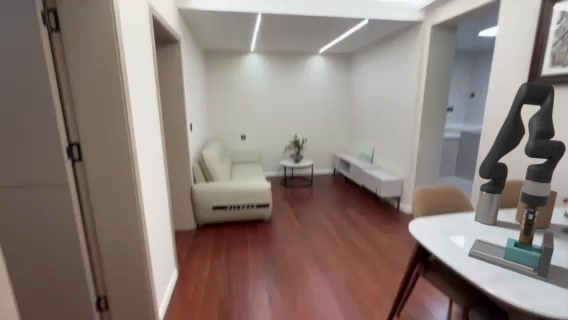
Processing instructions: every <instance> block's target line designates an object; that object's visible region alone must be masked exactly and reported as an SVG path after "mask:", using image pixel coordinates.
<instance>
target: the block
mask: <svg viewBox="0 0 568 320" xmlns="http://www.w3.org/2000/svg"><path fill="white" fill-rule="evenodd" d="M522 188H523V186H521V187H520V193H519V199H518V204H517V208H516V213H515V218H514V220H515V221H516V222H518V223H520V224H522V221H523V216H524V210H525V206H528V205H527V204H524V203H522V202H521V201H520V198H521V193H522ZM557 195H558V192H557V191H555V190H552V189H550V194H549V198H548V203H547V206H545V207H537V208H538V209H539V213H538V219H537V224H536V228H535V229H549V228H550V225H551V223H552V222H551V221H552V217H553V213H554V208H555V204H556V200H557Z"/></svg>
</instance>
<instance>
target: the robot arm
mask: <svg viewBox="0 0 568 320" xmlns="http://www.w3.org/2000/svg"><path fill="white" fill-rule="evenodd" d="M554 104H555V87H554V86H553V85H552V84H549V83H546V82H545V83H543V82H528V81H527V82H523V83H521V85H520V86H519V88H518V89H517V92H516V93H515V96H514V98H513V101H512V103H511V106H510V109H509V111H508V113H507V115H506V118H505V120H504V121H503V124H502V125H501V127H500V129H499V131H498V133H497V135H496V137H495V139H494V141H493V144H492V146H491V148H490V149H489V151H488V152H487V154H486V156H485V157H484V159H483V160H482V162H481V163H480V165H479V169H478V175H479V177H480V178H481V179H482V180H489V181H486V182H485V183H482V184H481V185H479V186H480V187H479V193H478V198H477V199H478V200H477V203H476V208H475V214H474V221H475V222H478V223H481V224H483V225H489V226H495V225H496V224H497V221H498V216H499V209H500V205H501V199H502V194H503V190H504V189H505V187H506V182H507V179H508V174H509V168H508V165H507V163H504V161H503V162H501V161H500V160H501V159H502V158H503V157H505V156H506V155H508V154H509V153H511V152H512V151H513V150H515V149H516V148H517V147H518V146H520V144H521V142H522V141H523V138H524V137H525V134H526V127H525V124H524V121H523V118H522V109H523V107H524V105H529V106H538V107H540V109H538V110H537V111H536V112H535V113H534V114H533V115H532V116H531V117H530V118H529V120H528V123H527V128H528V139H527V142H526V144H525V146H524V150H523V151H524V154H525V156H526V157H527V158H530V159H540V160H542V159H543V160H545V161H543V162H542V163H534V164H529V165H528V166H527V169H526V171H525V172H526V173H525V177H524V181H523V184H522V187H523V188H522V187H521V188H522V193H521V198H520V201H521V202H522V203H524V204H527V205H528V206H525V210H524V212H525V215H524V220H525V224H524V231H523V235H526V236H531V231H532V228H533V227H534V226H533V225H534V222H536V218H537V215H538V213H539V209H538V208H537V207H545V206H547V203H548V198H549V194H550V190H552V189H551V188H552V187H551V186H552V179H553V174H554V172H555V169H556V167H557V165H558V164H559V162H560V161H561V159H562V158H563V156H564V154H566V149H567V148H566V145H565V143H564V142H563V141H561V140H556V139H555V140H554V137H555V134H556V131H555V126H554V125H555V124H554V120H553V111H554V106H555V105H554ZM527 222H530V223H532V224H528V223H527Z"/></svg>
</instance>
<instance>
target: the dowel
mask: <svg viewBox="0 0 568 320" xmlns="http://www.w3.org/2000/svg"><path fill="white" fill-rule="evenodd" d="M524 215H525V212H524ZM537 219H538V215H537V218H536V222H534V225H533V226H534V227H533V228H532V231H531V236H526V235H523V231H524V224H525V220H524V216H523V221H522V223H521V227H520V231H519V236H518V240H519V241H518V243H519V244H521V245H523V246H527V247H531V246H532V244H534V237H535V234H536V233H535V231H536V229H537V228H536V224H537ZM527 223H528V224H532V223H530V222H527Z"/></svg>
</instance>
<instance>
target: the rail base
mask: <svg viewBox="0 0 568 320" xmlns="http://www.w3.org/2000/svg"><path fill="white" fill-rule="evenodd" d="M554 235H555V234H554V232H552V231H548V230H544V231H543V236H542V239H541V244H540V246H541V255H540V261H539V265H538V270H537V271H536V270H533V268H530V267H527V266H524V265H521V264H517V263H514V262H511V261H508V260H505V259H503V258H504V253H505V247H506V245H501V244H499V243H496V242H491V241H488V240H484V239H481V238H475V240H474V241H473V244H472V245H471V247H470V250H469V251H468V253H467V256H468V257H471V258H472V259H475V260H479V261H482V262H485V263H487V262H488V263H487V264H490V263H491V265H493V264H494V265H493V266H496V265H497V266H496V267H499V266H500V267H499V268H503V269H505V268H506V270H508V269H509V271H511V270H512V272H514V271H515V273H517V272H518V274H520V275H524V276H527V277H530V278H532V279H536V280H539V281H541V282H545V283H547V281H548V276H549V271H550V266H551V263H552V259H553V254H554V250H555V244H554V243H555V239H554V238H555V237H554Z"/></svg>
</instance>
